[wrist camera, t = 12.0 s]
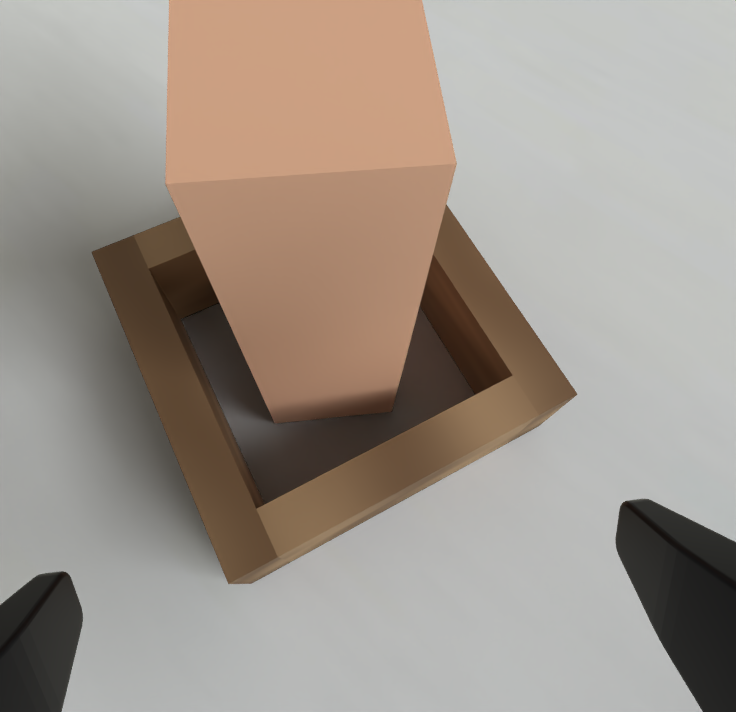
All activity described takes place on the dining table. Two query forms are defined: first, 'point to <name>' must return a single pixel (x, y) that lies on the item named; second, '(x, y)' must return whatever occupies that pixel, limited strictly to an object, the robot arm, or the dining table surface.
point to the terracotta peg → (310, 186)
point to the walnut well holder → (363, 473)
